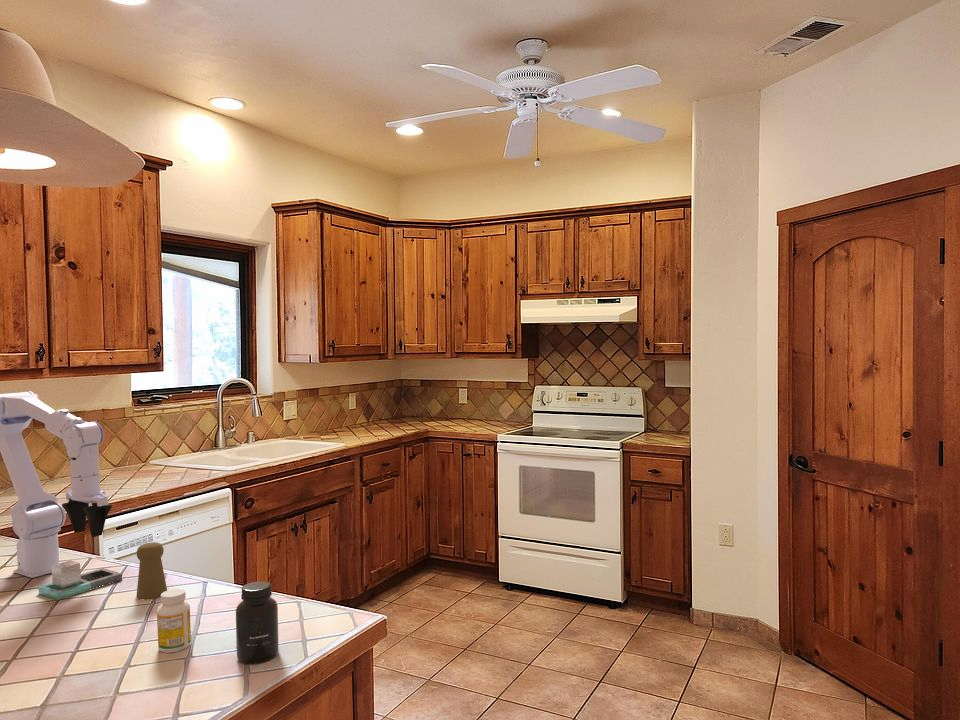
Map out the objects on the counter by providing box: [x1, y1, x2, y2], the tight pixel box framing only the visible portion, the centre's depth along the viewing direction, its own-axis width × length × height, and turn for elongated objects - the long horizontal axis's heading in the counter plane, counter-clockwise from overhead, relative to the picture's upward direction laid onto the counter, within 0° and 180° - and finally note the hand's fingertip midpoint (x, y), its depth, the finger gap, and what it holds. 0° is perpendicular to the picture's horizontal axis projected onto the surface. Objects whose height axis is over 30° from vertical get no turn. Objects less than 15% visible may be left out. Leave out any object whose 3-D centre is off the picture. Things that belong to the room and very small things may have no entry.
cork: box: [136, 541, 168, 601], centre depth 147 cm, size 6×6×11 cm
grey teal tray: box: [38, 567, 123, 601], centre depth 154 cm, size 8×14×2 cm, turn 147°
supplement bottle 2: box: [235, 581, 279, 665], centre depth 117 cm, size 7×7×12 cm
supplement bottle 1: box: [156, 588, 192, 654], centre depth 121 cm, size 5×5×10 cm
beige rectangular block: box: [51, 559, 82, 591], centre depth 151 cm, size 4×4×6 cm
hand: (88, 533), depth 159 cm, fingers open, 7 cm apart
